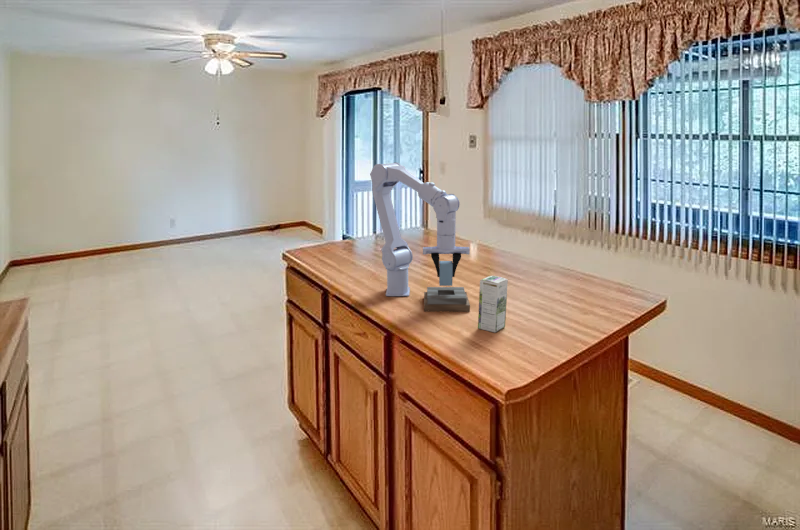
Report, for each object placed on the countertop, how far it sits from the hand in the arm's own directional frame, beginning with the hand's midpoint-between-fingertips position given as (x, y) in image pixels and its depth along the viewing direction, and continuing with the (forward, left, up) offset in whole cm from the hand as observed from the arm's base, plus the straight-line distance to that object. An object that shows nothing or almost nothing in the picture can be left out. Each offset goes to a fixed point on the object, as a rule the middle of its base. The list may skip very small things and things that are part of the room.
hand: (445, 276), depth 170 cm
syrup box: (+21, +12, -10) cm, 26 cm away
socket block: (0, 0, -9) cm, 9 cm away
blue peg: (0, 0, -2) cm, 3 cm away
